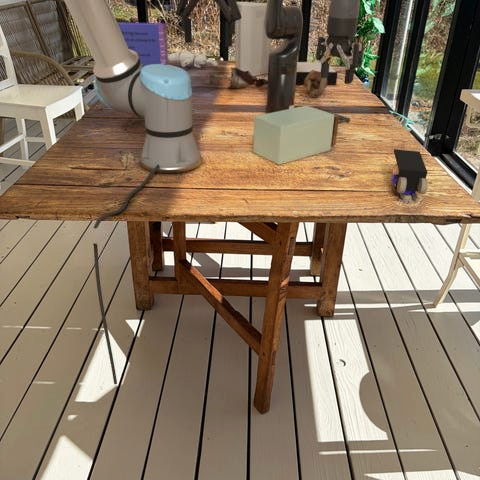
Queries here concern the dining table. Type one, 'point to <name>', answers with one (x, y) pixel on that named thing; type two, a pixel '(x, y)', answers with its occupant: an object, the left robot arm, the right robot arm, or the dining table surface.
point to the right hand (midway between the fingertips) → (335, 80)
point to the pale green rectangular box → (292, 134)
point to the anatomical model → (315, 83)
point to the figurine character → (409, 173)
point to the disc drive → (306, 67)
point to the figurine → (241, 79)
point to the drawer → (337, 120)
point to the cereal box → (146, 41)
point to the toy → (190, 59)
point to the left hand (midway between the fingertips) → (208, 44)
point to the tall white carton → (252, 39)
